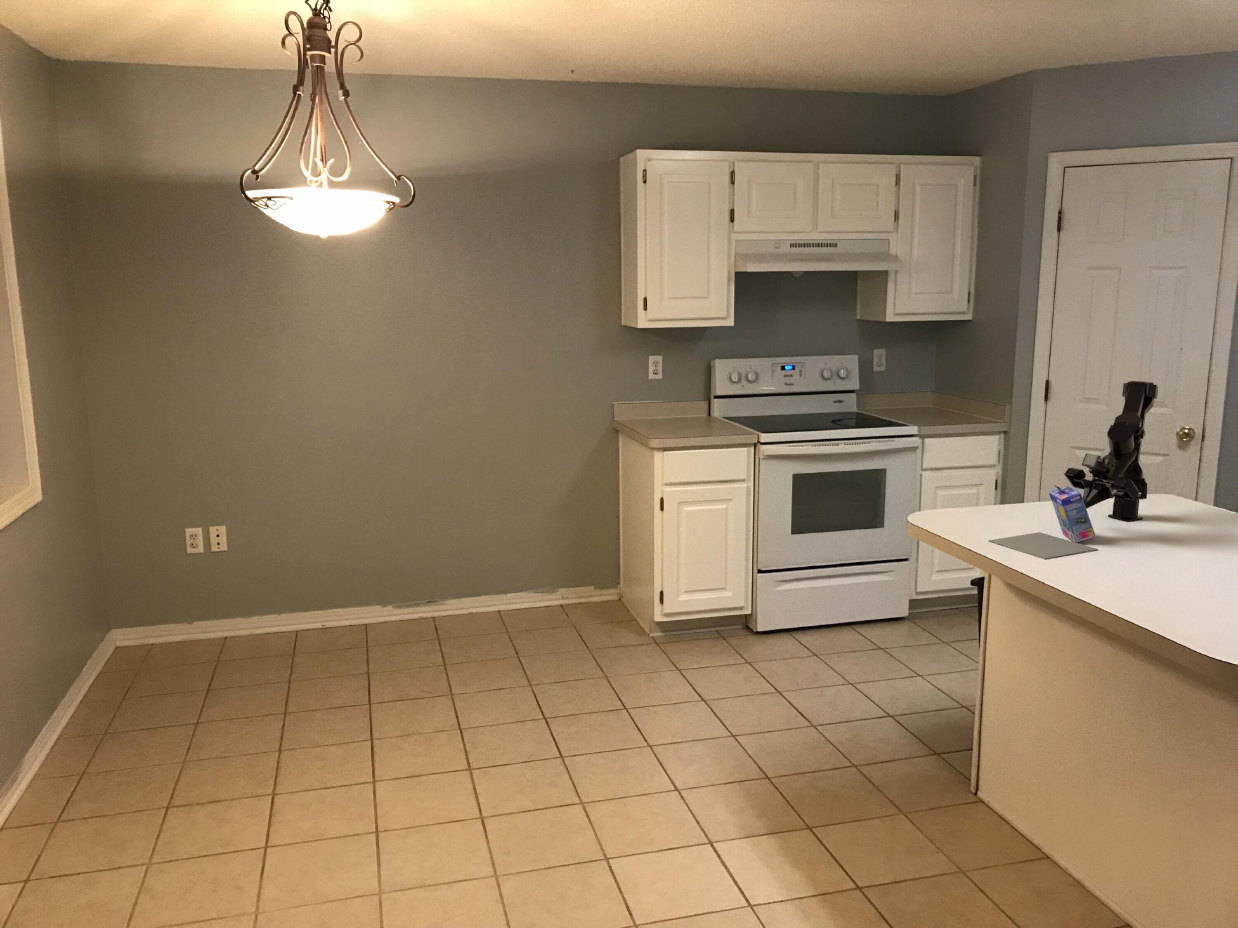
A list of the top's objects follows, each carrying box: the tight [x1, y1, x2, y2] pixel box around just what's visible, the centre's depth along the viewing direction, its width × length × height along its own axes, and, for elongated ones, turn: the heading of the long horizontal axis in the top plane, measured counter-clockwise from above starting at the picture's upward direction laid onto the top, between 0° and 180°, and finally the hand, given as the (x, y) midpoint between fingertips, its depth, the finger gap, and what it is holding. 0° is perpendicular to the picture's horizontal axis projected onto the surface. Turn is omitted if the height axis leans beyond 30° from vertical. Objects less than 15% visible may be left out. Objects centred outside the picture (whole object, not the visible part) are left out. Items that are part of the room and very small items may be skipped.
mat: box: [988, 531, 1099, 560], centre depth 249 cm, size 18×18×1 cm
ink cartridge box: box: [1048, 484, 1096, 543], centre depth 253 cm, size 10×6×14 cm, turn 174°
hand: (1082, 508), depth 253 cm, fingers closed
